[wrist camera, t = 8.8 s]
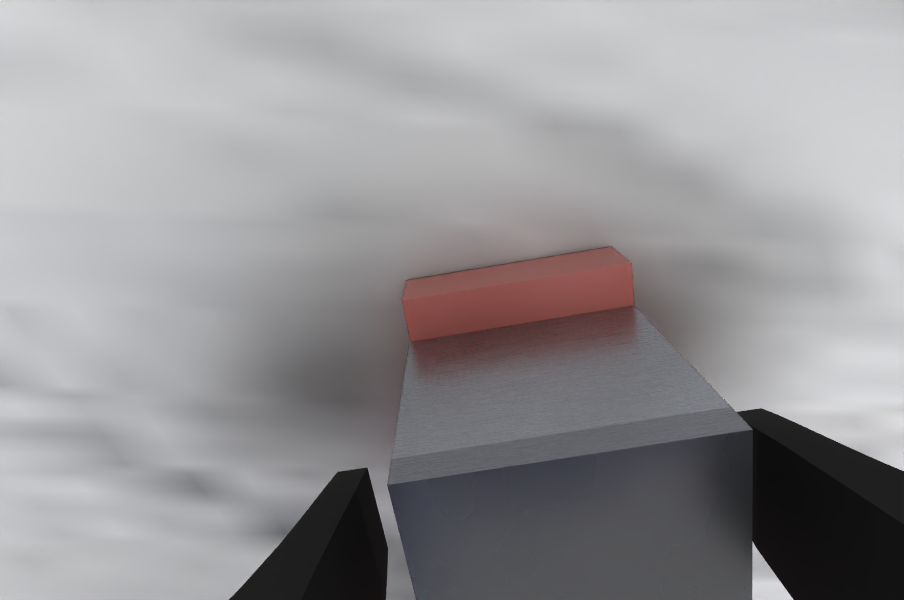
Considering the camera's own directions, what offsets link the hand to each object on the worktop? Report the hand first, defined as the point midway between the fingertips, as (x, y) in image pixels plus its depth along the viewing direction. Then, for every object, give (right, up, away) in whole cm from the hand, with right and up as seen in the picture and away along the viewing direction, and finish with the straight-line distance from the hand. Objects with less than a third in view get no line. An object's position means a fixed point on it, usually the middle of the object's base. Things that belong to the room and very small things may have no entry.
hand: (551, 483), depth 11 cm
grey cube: (0, +1, +2) cm, 2 cm away
